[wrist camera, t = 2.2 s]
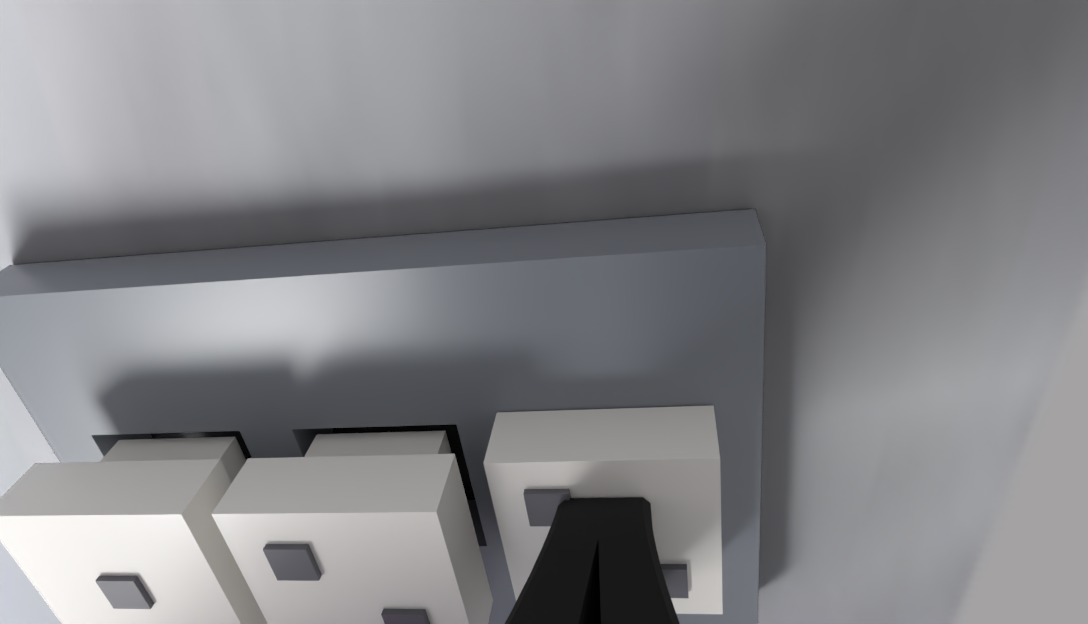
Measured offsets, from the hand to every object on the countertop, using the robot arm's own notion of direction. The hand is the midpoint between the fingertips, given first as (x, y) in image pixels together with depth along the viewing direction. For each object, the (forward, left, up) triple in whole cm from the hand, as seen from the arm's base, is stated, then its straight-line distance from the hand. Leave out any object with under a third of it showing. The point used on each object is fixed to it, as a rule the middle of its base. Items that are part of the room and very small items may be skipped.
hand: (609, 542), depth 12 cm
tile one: (0, +8, -2) cm, 8 cm away
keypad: (0, +4, -2) cm, 5 cm away
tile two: (0, +4, -2) cm, 5 cm away
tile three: (0, 0, -3) cm, 3 cm away
